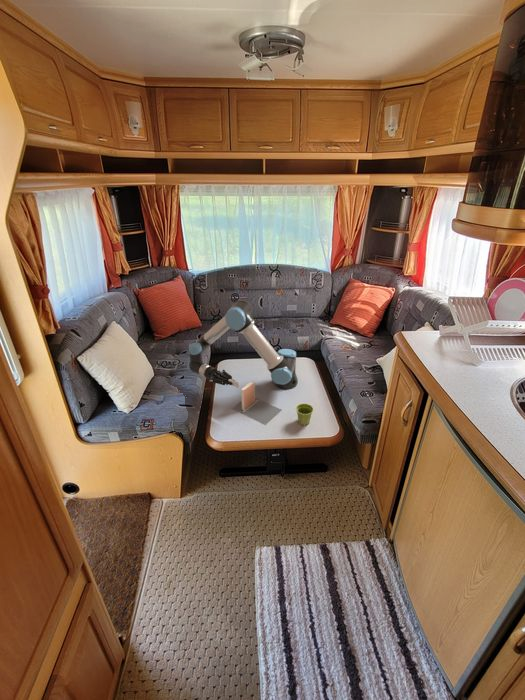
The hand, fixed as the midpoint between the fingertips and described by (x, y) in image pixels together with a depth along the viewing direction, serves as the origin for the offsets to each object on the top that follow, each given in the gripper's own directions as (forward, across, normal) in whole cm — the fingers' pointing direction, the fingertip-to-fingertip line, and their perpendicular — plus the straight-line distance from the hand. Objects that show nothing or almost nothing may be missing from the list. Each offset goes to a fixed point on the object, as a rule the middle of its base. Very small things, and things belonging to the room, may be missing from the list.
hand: (237, 385), depth 199 cm
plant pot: (+40, -8, -12) cm, 43 cm away
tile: (+8, 0, -11) cm, 14 cm away
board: (+14, 0, -12) cm, 18 cm away
